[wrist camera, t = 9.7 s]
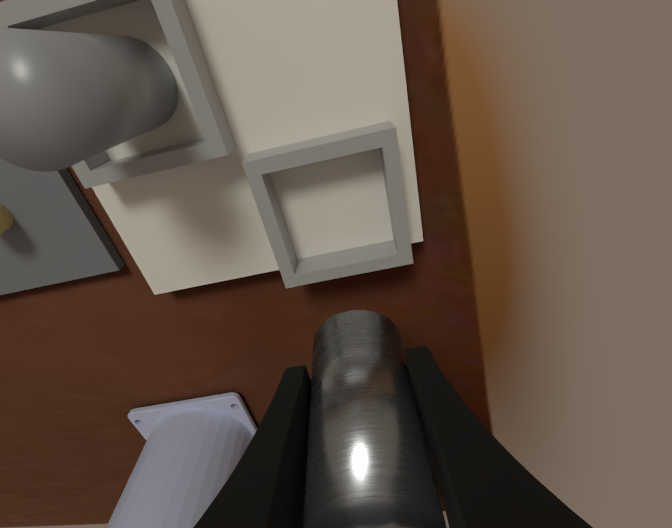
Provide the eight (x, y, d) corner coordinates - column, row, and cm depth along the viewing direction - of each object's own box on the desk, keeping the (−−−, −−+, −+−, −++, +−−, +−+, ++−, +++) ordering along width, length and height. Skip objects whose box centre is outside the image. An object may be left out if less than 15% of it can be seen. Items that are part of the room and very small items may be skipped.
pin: (405, 367, 14) (449, 557, 9) (324, 380, 14) (320, 570, 9) (395, 303, 12) (442, 490, 7) (304, 318, 13) (285, 509, 7)
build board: (418, 233, 19) (462, 325, 12) (165, 284, 20) (91, 390, 14) (381, -85, 12) (434, -219, 6) (18, 21, 14) (-237, -3, 8)
